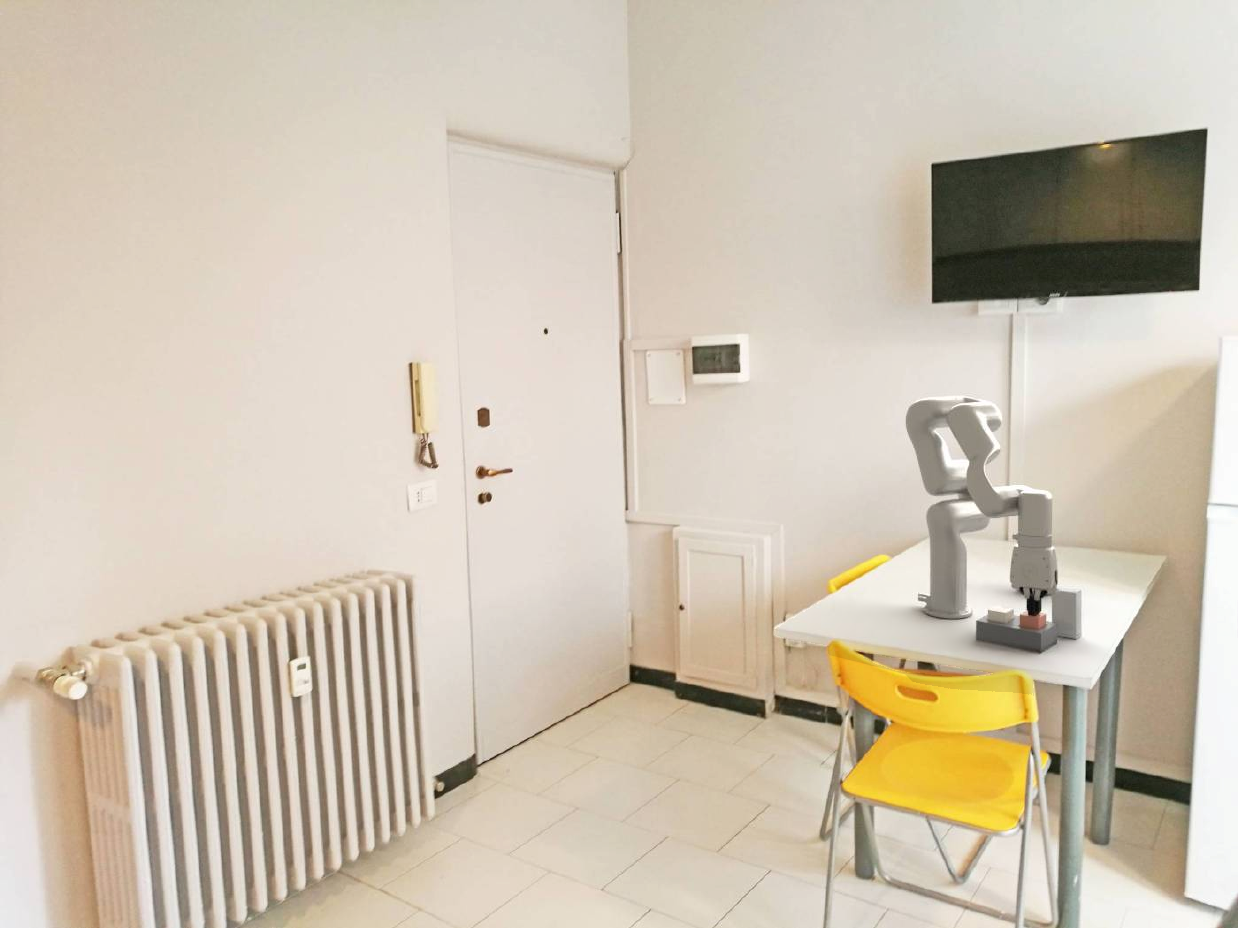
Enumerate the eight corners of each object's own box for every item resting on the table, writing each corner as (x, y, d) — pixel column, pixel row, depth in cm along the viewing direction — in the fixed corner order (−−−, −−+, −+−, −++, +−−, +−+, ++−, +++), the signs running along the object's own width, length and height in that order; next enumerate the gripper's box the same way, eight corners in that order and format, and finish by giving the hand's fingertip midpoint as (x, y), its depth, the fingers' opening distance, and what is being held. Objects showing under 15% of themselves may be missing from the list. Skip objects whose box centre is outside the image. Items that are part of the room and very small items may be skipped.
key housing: (976, 639, 231) (976, 620, 231) (993, 630, 238) (993, 611, 238) (1040, 653, 220) (1041, 633, 219) (1057, 642, 227) (1057, 623, 226)
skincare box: (1082, 635, 231) (1083, 588, 230) (1076, 640, 228) (1077, 592, 227) (1056, 631, 236) (1057, 585, 234) (1050, 635, 232) (1051, 589, 231)
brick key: (1019, 632, 226) (1019, 614, 225) (1027, 627, 229) (1027, 610, 228) (1038, 635, 223) (1038, 617, 222) (1046, 631, 226) (1046, 613, 225)
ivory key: (987, 626, 232) (987, 609, 231) (995, 622, 235) (995, 605, 234) (1005, 630, 228) (1005, 612, 228) (1013, 625, 231) (1013, 608, 231)
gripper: (997, 540, 226) (997, 612, 228) (1060, 547, 215) (1059, 623, 217) (1010, 534, 231) (1010, 605, 233) (1072, 541, 220) (1071, 616, 222)
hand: (1033, 614), depth 225 cm, fingers closed
